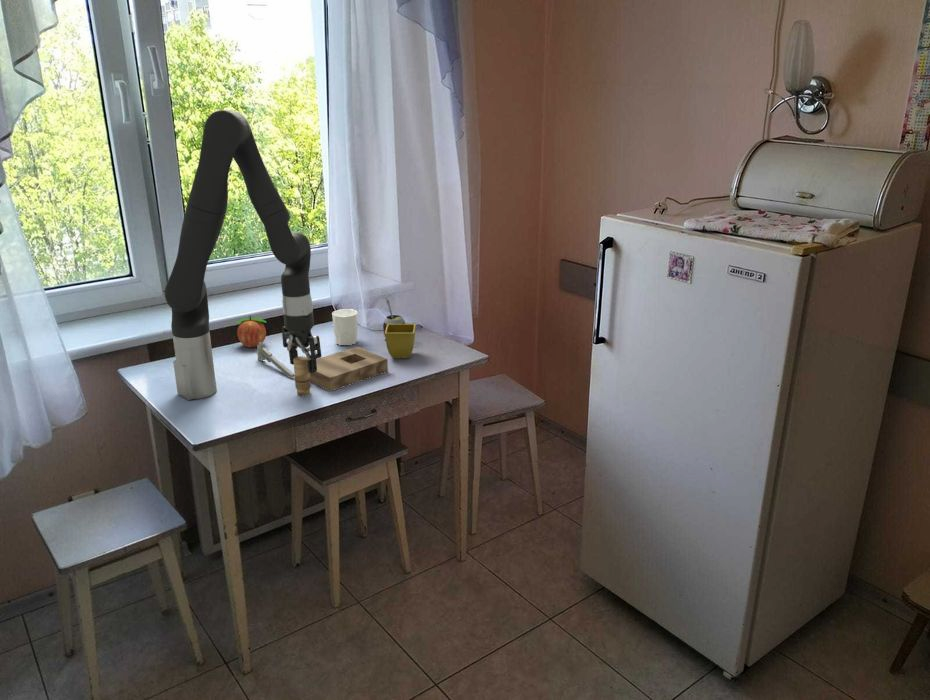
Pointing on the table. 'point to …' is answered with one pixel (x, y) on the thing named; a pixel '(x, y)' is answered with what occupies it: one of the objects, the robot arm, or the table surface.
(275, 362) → the caliper
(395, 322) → the mate gourd
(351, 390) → the table surface
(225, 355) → the table surface
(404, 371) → the table surface
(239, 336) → the fruit
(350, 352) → the board
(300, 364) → the peg
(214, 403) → the table surface
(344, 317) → the white cup
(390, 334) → the flower pot
